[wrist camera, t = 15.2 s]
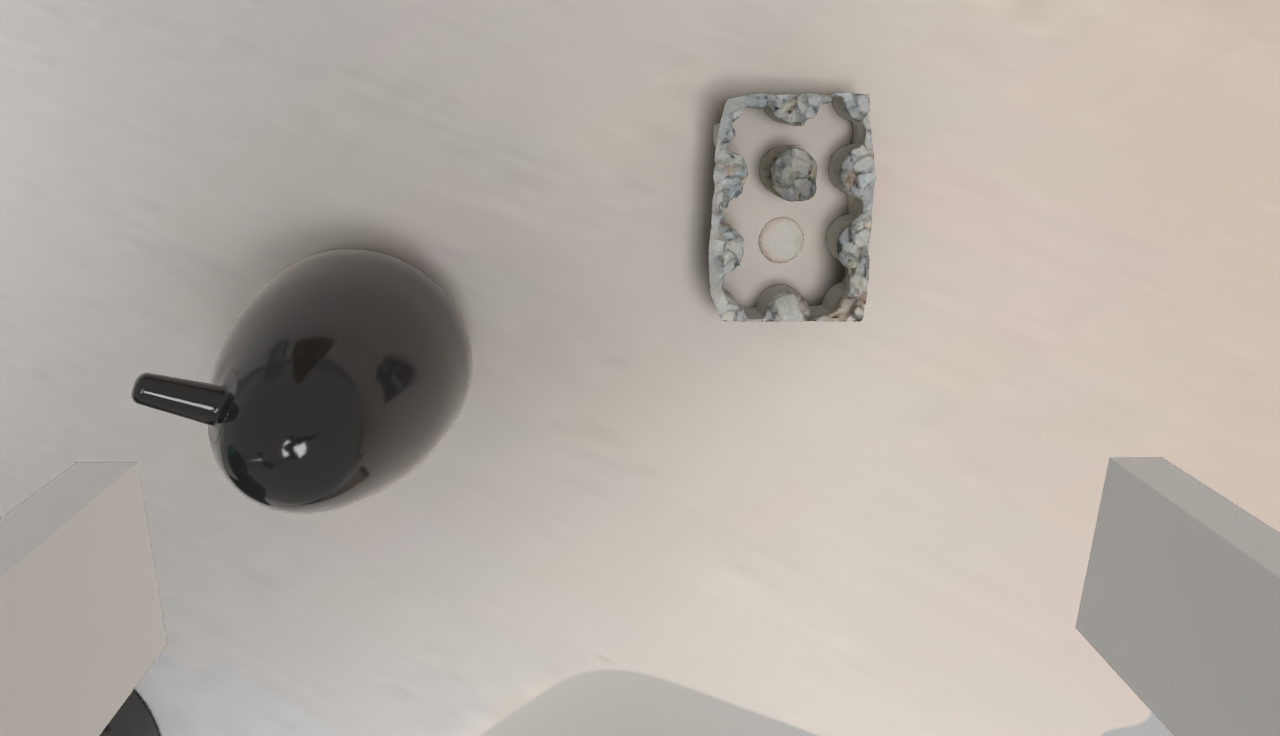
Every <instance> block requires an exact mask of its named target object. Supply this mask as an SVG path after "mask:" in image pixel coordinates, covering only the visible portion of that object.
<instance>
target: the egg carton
mask: <svg viewBox="0 0 1280 736" xmlns="http://www.w3.org/2000/svg"><path fill="white" fill-rule="evenodd" d="M831 101H832V104H833V107H834V109H835V111H836V112H837V114H838V115H839V116H841V117H842V118H844V119H846V120H849V121H852V124H853V138H852V144H849V145H846V146H843V147H841V148H840V149H839V150H838V151H836V153H835V154H834V155H833V156H832V157H831V160H830V164H829V176H830V180H831V182H832V183H833V185H834V186H835V187H837V188H838V189H839V190H841V191H843V192H845V193H846V194H847V204H848V214H847V215H843V216H841V217H839V218H837V219H836V220H835V221H834V222H833V223H832V224H831V225H830V227H829V228H828V230H827V232H826V238H825V239H826V245H827V248H828V250H829V252H830V254H831V255H832V256H833V257H835V258H836V259H838V260H839V261H840V262H841V264H842V265H843V266H844V267H845V276H844V279H843V281H842V282H840V283H838V284H835V285H834V286H832V287H831V288H830V289H829V290H828V291H827V292H826V294H825V296H824V298H823V301H822V304H821V305H818V306H809V305H808V304H807V302H806V301H805V300H804V299H803V298H802V297H801V296H800V295H799V294H798V293H797V292H796V291H795V290H794V289H793V288H791V287H790V286H787V285H775V286H772V287H770V288H767V289H766V290H765V291H763V293H762V294H761V295H760V297H759V299H758V301H757V304H756V307H754V308H743V307H741V306H740V305H739V304H738V303H737V302H736V301H735V300H734V298H733V297H732V296H731V294H730V293H729V292H728V291H727V290H725V289H723V288H722V284H723V276H724V275H725V274H727V273H728V272H730V271H732V270H734V269H735V268H736V266H738V265H740V261H741V259H742V257H743V241H744V238H743V237H742V236H741V235H740V234H739V233H738V232H737V231H736V230H734V229H733V228H732V227H731V226H730V225H728V224H727V223H726V222H724V221H722V220H723V219H724V212H723V210H724V209H725V208H727V207H728V203H729V201H730V200H731V199H733V198H734V197H738V196H739V195H740V194H741V193H742V190H743V185H744V183H745V180H746V178H747V176H748V171H747V166H746V163H745V161H744V159H743V157H741V156H740V155H738V154H736V153H733V152H731V151H730V150H729V149H728V148H727V143H729V142H730V141H731V140H732V139H733V137H735V130H734V129H733V127H732V122H733V121H735V120H736V119H737V118H739V116H740V115H741V113H742V111H743V110H744V109H745V108H746V107H748V108H754V109H760V108H764V110H765V112H766V113H767V114H768V116H769V117H771V118H772V119H773V120H775V121H777V122H780V123H785V124H790V125H792V126H802V125H804V122H805V121H806V120H807V119H809V118H813V117H814V116H815V115H816V114H817V112H818V110H819V107H820V106H821V104H826V103H830V102H831ZM869 111H870V100H869V96H868V94H854V93H833V94H832V95H822V94H813V93H808V94H801V95H798V94H781V95H771V94H769V93H758V94H751V95H744V96H739V97H735V98H730V99H728V100H727V102H726V103H725V107H724V110H723V114H722V117H721V121H720V123H718V124H714V126H713V145H714V146H716V149H715V168H714V172H713V179H714V184H715V190H714V195H713V201H712V218H711V231H710V241H709V251H708V255H709V282H710V293H711V297H712V300H713V302H714V305H715V307H716V309H717V311H718V313H719V315H720V318H721V320H722V321H736V322H745V321H825V322H830V321H855V322H857V321H861V320H862V318H863V316H864V305H865V303H866V297H867V284H868V279H869V255H868V245H869V238H870V232H871V226H872V217H871V211H872V203H873V191H874V184H875V177H876V175H875V165H874V153H873V146H872V138H871V128H870V122H869V115H868V112H869ZM792 146H798V145H783V146H778V147H776V148H774V149H772V150H770V151H769V152H768V153H767V154H766V155H765V156H764V158H763V159H762V161H761V164H760V168H759V175H760V178H761V181H762V183H763V184H764V186H765V187H766V188H767V189H768V190H769V191H770V192H772V193H773V194H775V195H777V196H779V197H781V198H782V199H784V200H787V201H804V200H809V199H810V198H812V197H813V196H814V194H815V192H816V174H817V164H816V162H815V160H814V159H813V158H812V157H811V156H810V154H809V153H807V152H806V151H805V150H802V149H799V148H796V147H792ZM720 205H721V206H722V210H721V209H720ZM803 235H804V234H803V233H802V229H801V228H800V226H799V225H798V224H797V223H796V222H795V221H794V220H792V219H790V218H786V217H780V218H775V219H773V220H771V221H770V222H768V223H767V224H766V225H765V226H764V228H763V229H762V231H761V234H760V236H759V247H760V250H761V253H762V254H763V255H764V256H765V257H766V258H767V259H768V260H769V261H771V262H774V263H784V262H788V261H789V260H791V259H793V258H795V257H796V256H797V255H798V253H799V252H800V251H801V249H802V245H803V242H804V239H803Z"/></svg>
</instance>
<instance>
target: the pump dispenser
mask: <svg viewBox="0 0 1280 736" xmlns="http://www.w3.org/2000/svg"><path fill="white" fill-rule="evenodd" d="M471 375H472V353H471V346H470V341H469V337H468V334H467V331H466V328H465V325H464V323H463V321H462V318H461V316H460V314H459V313H458V311H457V309H456V307H455V306H454V304H453V303H452V301H451V300H450V299H449V297H448V296H447V295H446V294H445V293H444V291H443V290H442V289H441V288H440V287H439V286H438V285H437V284H436V283H435V282H434V281H433V280H431V279H430V278H429V277H428V276H426V275H425V274H424V273H422V272H421V271H419V270H418V269H416V268H415V267H413V266H411V265H409V264H408V263H406V262H404V261H401V260H399V259H397V258H394V257H391V256H389V255H385V254H382V253H378V252H373V251H367V250H358V249H341V250H332V251H326V252H322V253H318V254H315V255H311V256H309V257H306V258H304V259H301V260H299V261H297V262H295V263H293V264H291V265H290V266H288V267H286V268H285V269H283V270H282V271H280V272H279V273H277V274H276V275H275V276H274V277H272V278H271V279H270V280H269V281H268V282H266V283H265V284H264V285H263V286H262V287H261V288H260V289H259V290H258V291H257V292H256V294H255V295H254V296H253V297H252V298H251V299H250V301H249V302H248V303H247V304H246V306H245V307H244V308H243V310H242V311H241V312H240V314H239V315H238V317H237V318H236V319H235V321H234V323H233V324H232V326H231V327H230V329H229V331H228V333H227V335H226V337H225V339H224V341H223V343H222V345H221V347H220V350H219V352H218V355H217V358H216V361H215V364H214V367H213V371H212V375H211V379H210V383H204V382H198V381H192V380H186V379H180V378H175V377H169V376H163V375H157V374H151V373H143V374H141V375H140V376H139V377H138V378H137V379H136V381H135V383H134V386H133V389H132V399H133V401H134V402H135V403H137V404H140V405H144V406H147V407H150V408H154V409H157V410H161V411H164V412H167V413H171V414H174V415H177V416H181V417H184V418H187V419H191V420H194V421H197V422H201V423H204V424H207V425H208V434H209V439H210V444H211V448H212V452H213V455H214V457H215V460H216V462H217V464H218V466H219V468H220V469H221V471H222V473H223V474H224V476H225V477H226V478H227V480H228V481H229V482H230V483H231V484H232V485H233V486H234V487H235V488H236V489H237V490H238V491H239V492H240V493H241V494H243V495H244V496H245V497H247V498H248V499H250V500H251V501H253V502H255V503H257V504H259V505H261V506H264V507H266V508H269V509H272V510H276V511H280V512H285V513H293V514H314V513H322V512H328V511H332V510H336V509H340V508H343V507H346V506H349V505H352V504H355V503H357V502H360V501H362V500H365V499H367V498H369V497H371V496H373V495H375V494H377V493H379V492H381V491H383V490H385V489H387V488H388V487H390V486H392V485H393V484H395V483H397V482H398V481H400V480H401V479H403V478H404V477H405V476H407V475H408V474H409V473H411V472H412V471H413V470H414V469H416V468H417V467H418V466H419V465H420V464H421V463H422V462H423V461H424V460H425V459H426V458H427V457H428V456H429V455H430V454H431V453H432V452H433V451H434V450H435V449H436V448H437V446H438V445H439V444H440V443H441V442H442V440H443V439H444V438H445V437H446V435H447V434H448V433H449V431H450V430H451V428H452V427H453V425H454V424H455V422H456V420H457V418H458V416H459V415H460V413H461V410H462V408H463V406H464V403H465V401H466V398H467V395H468V391H469V387H470V382H471Z"/></svg>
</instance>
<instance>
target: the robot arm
mask: <svg viewBox="0 0 1280 736" xmlns="http://www.w3.org/2000/svg"><path fill="white" fill-rule="evenodd" d="M1075 628H1076V629H1077V630H1078V631H1079V632H1080V633H1081V634H1082V635H1083V636H1084V638H1085V639H1086V640H1087V641H1088V642H1089V643H1090V644H1091V645H1092V646H1093V647H1094V649H1095V650H1096V651H1097V652H1098V653H1099V654H1100V655H1101V656H1102V657H1103V658H1104V660H1105V661H1106V662H1107V663H1108V664H1109V665H1110V666H1111V667H1112V668H1113V669H1114V671H1115V672H1116V673H1117V674H1118V675H1119V676H1120V677H1121V678H1122V679H1123V680H1124V682H1125V683H1126V684H1127V685H1128V686H1129V687H1130V688H1131V689H1132V690H1133V691H1134V693H1135V694H1136V695H1137V696H1138V697H1139V698H1140V699H1141V700H1142V701H1143V702H1144V703H1145V705H1146V706H1147V707H1148V708H1149V709H1150V710H1151V711H1152V712H1153V713H1154V714H1155V715H1156V717H1157V718H1158V719H1159V720H1160V721H1161V722H1162V723H1163V724H1164V725H1165V727H1166V728H1167V729H1168V730H1169V731H1170V732H1171V733H1172V734H1173V735H1174V736H1280V533H1279V532H1278V531H1276V530H1275V529H1273V528H1272V527H1270V526H1269V525H1267V524H1265V523H1264V522H1262V521H1261V520H1259V519H1258V518H1256V517H1254V516H1253V515H1251V514H1250V513H1248V512H1247V511H1245V510H1244V509H1242V508H1240V507H1239V506H1237V505H1236V504H1234V503H1233V502H1231V501H1230V500H1228V499H1226V498H1225V497H1223V496H1222V495H1220V494H1219V493H1217V492H1215V491H1214V490H1212V489H1211V488H1209V487H1208V486H1206V485H1205V484H1203V483H1201V482H1200V481H1198V480H1197V479H1195V478H1194V477H1192V476H1190V475H1189V474H1187V473H1186V472H1184V471H1183V470H1181V469H1180V468H1178V467H1176V466H1175V465H1173V464H1172V463H1170V462H1169V461H1167V460H1165V459H1164V458H1162V457H1126V458H1109V463H1108V468H1107V473H1106V478H1105V483H1104V488H1103V493H1102V498H1101V503H1100V508H1099V513H1098V518H1097V523H1096V528H1095V533H1094V537H1093V542H1092V547H1091V552H1090V557H1089V562H1088V567H1087V572H1086V577H1085V582H1084V587H1083V592H1082V597H1081V602H1080V607H1079V612H1078V617H1077V622H1076V627H1075ZM167 644H168V642H167V636H166V630H165V624H164V618H163V612H162V606H161V600H160V594H159V588H158V582H157V576H156V570H155V564H154V558H153V552H152V546H151V540H150V534H149V528H148V522H147V516H146V510H145V504H144V498H143V492H142V486H141V480H140V474H139V468H138V462H76V463H75V464H74V465H72V466H71V467H70V468H68V469H67V470H65V471H64V472H63V473H61V474H60V475H59V476H57V477H56V478H55V479H53V480H52V481H51V482H49V483H48V484H47V485H45V486H44V487H43V488H41V489H40V490H39V491H37V492H36V493H35V494H33V495H32V496H30V497H29V498H28V499H26V500H25V501H24V502H22V503H21V504H20V505H18V506H17V507H16V508H14V509H13V510H12V511H10V512H9V513H8V514H6V515H5V516H4V517H2V518H1V519H0V736H159V734H158V731H157V728H156V726H155V723H154V721H153V719H152V717H151V715H150V713H149V712H148V710H147V708H146V707H145V705H144V704H143V703H142V701H141V700H140V698H139V697H138V696H137V695H136V694H135V693H134V691H133V690H134V688H135V687H136V686H137V684H138V683H139V682H140V680H141V679H142V678H143V676H144V675H145V674H146V672H147V671H148V670H149V668H150V667H151V666H152V664H153V663H154V662H155V660H156V659H157V658H158V656H159V655H160V654H161V652H162V651H163V649H164V648H165V647H166V645H167Z"/></svg>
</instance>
